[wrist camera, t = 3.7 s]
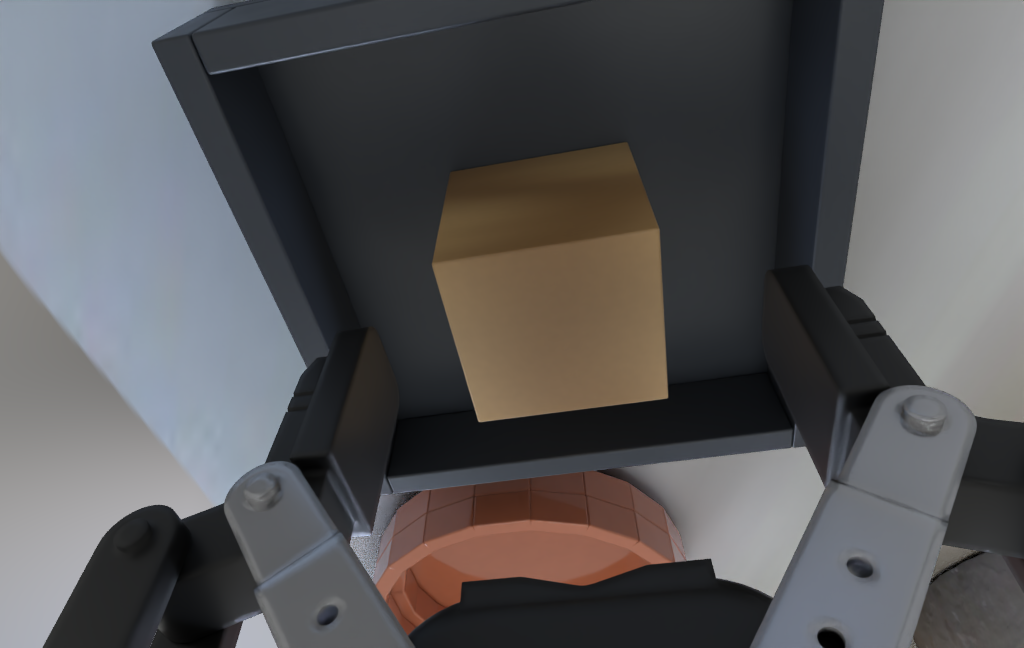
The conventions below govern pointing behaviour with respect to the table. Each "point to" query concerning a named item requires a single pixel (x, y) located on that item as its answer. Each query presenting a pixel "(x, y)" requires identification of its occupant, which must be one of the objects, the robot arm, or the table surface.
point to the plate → (518, 538)
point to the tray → (523, 135)
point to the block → (553, 283)
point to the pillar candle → (973, 607)
